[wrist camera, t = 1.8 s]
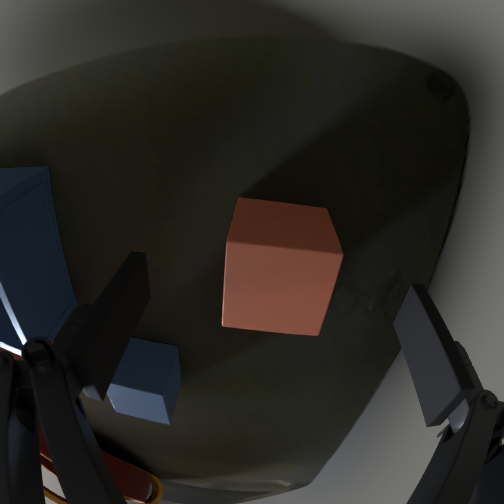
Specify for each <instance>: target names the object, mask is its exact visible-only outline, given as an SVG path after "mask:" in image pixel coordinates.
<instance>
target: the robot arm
mask: <svg viewBox="0 0 504 504" xmlns="http://www.w3.org/2000/svg"><path fill="white" fill-rule="evenodd" d="M150 298H151V296H150V288H149V279H148V270H147V260H146V253H142V252H135V251H131V252H130V254H129V255H128V256H127V258H126V259H125V261H124V262H123V263H122V265H121V266H120V268H119V269H118V270H117V272H116V273H115V275H114V276H113V277H112V279H111V280H110V282H109V283H108V285H107V286H106V287H105V289H104V290H103V292H102V293H101V295H100V296H99V298H98V299H97V301H96V302H95V304H94V305H89V304H85V303H84V304H83V305H82V306H80V307H79V308H78V309H76V310H75V311H74V313H73V314H72V316H71V317H70V320H68V322H67V323H66V325H65V327H64V328H63V329H62V331H61V332H60V334H59V335H58V337H57V338H56V340H55V341H54V343H53V344H51V341H50V340H49V339H47V338H46V337H42V336H38V337H33V338H31V339H29V340H28V341H27V342H26V343H25V344H24V345H23V347H22V349H21V356H22V357H23V359H24V360H15V359H14V357H13V355H12V354H11V353H10V352H8V351H0V504H46V503H45V496H44V489H43V481H42V471H41V458H40V439H39V419H40V423H41V427H42V431H43V434H44V438H45V441H46V445H47V448H48V451H49V454H50V458H51V461H52V464H53V466H54V469H55V472H56V475H57V478H58V480H59V483H60V485H61V488H62V491H63V493H64V495H65V498H66V500H67V503H68V504H127V502H126V501H125V499H124V497H123V495H122V493H121V491H120V489H119V487H118V486H117V484H116V482H115V480H114V478H113V476H112V474H111V472H110V470H109V468H108V465H107V463H106V461H105V459H104V457H103V455H102V452H101V450H100V448H99V446H98V443H97V441H96V439H95V436H94V434H93V431H92V429H91V426H90V424H89V421H88V418H87V416H86V413H85V410H84V408H83V405H82V402H81V399H80V397H79V394H80V392H81V390H82V389H83V391H84V393H85V395H86V396H87V397H90V398H93V399H96V400H99V401H103V400H104V398H105V395H106V393H107V391H108V388H109V386H110V384H111V381H112V379H113V377H114V375H115V372H116V370H117V368H118V366H119V363H120V361H121V359H122V357H123V355H124V352H125V350H126V348H127V346H128V344H129V342H130V339H131V337H132V335H133V333H134V331H135V329H136V327H137V325H138V323H139V321H140V319H141V317H142V314H143V312H144V310H145V308H146V306H147V304H148V302H149V300H150ZM393 325H394V328H395V331H396V333H397V336H398V339H399V341H400V344H401V347H402V350H403V353H404V356H405V358H406V361H407V364H408V367H409V370H410V373H411V376H412V379H413V383H414V386H415V389H416V392H417V395H418V399H419V402H420V405H421V409H422V412H423V416H424V419H425V423H426V426H427V427H431V426H437V425H441V424H442V423H443V422H444V421H445V420H446V419H447V418H448V420H449V424H448V425H447V426H446V427H445V428H444V429H443V430H442V431H441V432H440V433H439V434H438V435H437V437H439V436H441V434H443V435H442V438H441V439H440V442H439V444H438V446H437V448H436V450H435V452H434V454H433V457H432V459H431V461H430V463H429V465H428V466H427V469H426V470H425V472H424V474H423V476H422V478H421V480H420V482H419V483H418V485H417V487H416V489H415V490H414V492H413V494H412V495H411V497H410V499H409V500H408V502H407V504H504V444H503V445H502V440H503V439H504V402H501V401H498V399H497V397H496V396H495V394H493V393H492V392H491V391H489V390H484V389H483V387H482V384H481V382H480V380H479V378H478V375H477V373H476V371H475V369H474V367H473V366H472V363H471V361H470V359H469V357H468V354H467V352H466V351H465V349H464V347H463V346H462V345H461V344H460V343H459V342H458V341H454V340H453V338H452V336H451V334H450V332H449V330H448V329H447V327H446V325H445V323H444V321H443V319H442V317H441V315H440V313H439V312H438V310H437V308H436V306H435V304H434V303H433V301H432V299H431V297H430V295H429V294H428V292H427V290H426V288H425V287H424V285H420V284H411V286H410V288H409V290H408V293H407V295H406V297H405V299H404V302H403V304H402V306H401V308H400V310H399V312H398V315H397V317H396V319H395V321H394V323H393Z"/></svg>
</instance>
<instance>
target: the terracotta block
mask: <svg viewBox="0 0 504 504" xmlns="http://www.w3.org/2000/svg"><path fill="white" fill-rule="evenodd" d="M343 256H344V254H343V251H342V248H341V245H340V242H339V240H338V237H337V234H336V231H335V229H334V226H333V223H332V221H331V218H330V215H329V213H328V210H327V208H321V207H314V206H307V205H299V204H291V203H283V202H275V201H267V200H258V199H250V198H241V197H240V198H238V201H237V205H236V208H235V212H234V215H233V219H232V223H231V226H230V230H229V233H228V237H227V241H226V255H225V271H224V289H223V309H222V326H224V327H232V328H241V329H249V330H259V331H268V332H278V333H289V334H301V335H314V336H318V335H319V332H320V330H321V327H322V324H323V321H324V318H325V315H326V312H327V309H328V305H329V302H330V299H331V296H332V293H333V290H334V286H335V283H336V280H337V276H338V273H339V270H340V266H341V263H342V259H343Z"/></svg>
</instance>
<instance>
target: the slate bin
mask: <svg viewBox="0 0 504 504" xmlns="http://www.w3.org/2000/svg"><path fill="white" fill-rule="evenodd" d="M76 305H77V300H76V296H75V293H74V290H73V286H72V283H71V279H70V275H69V272H68V268H67V264H66V260H65V256H64V251H63V247H62V243H61V238H60V233H59V228H58V223H57V218H56V213H55V207H54V201H53V194H52V188H51V180H50V172H49V167H48V166H42V167H14V168H0V347H2V348H4V349H6V350H9V351H11V352H13V353H16V354H18V355H20V356H21V349H22V347H23V345H24V344H25V343H26V342H27V341H28V340H29V339H31V338H33V337H38V336H42V337H46V338H47V339H49V340H50V341H51V343H52V341H53V340H54V338H55V337H56V335H57V333H58V332H59V330H60V329H61V327H62V326H63V324H64V323H65V321H66V320H67V318H68V317H69V315H70V314H71V312H72V311H73V309H74V308H75V306H76Z"/></svg>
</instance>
